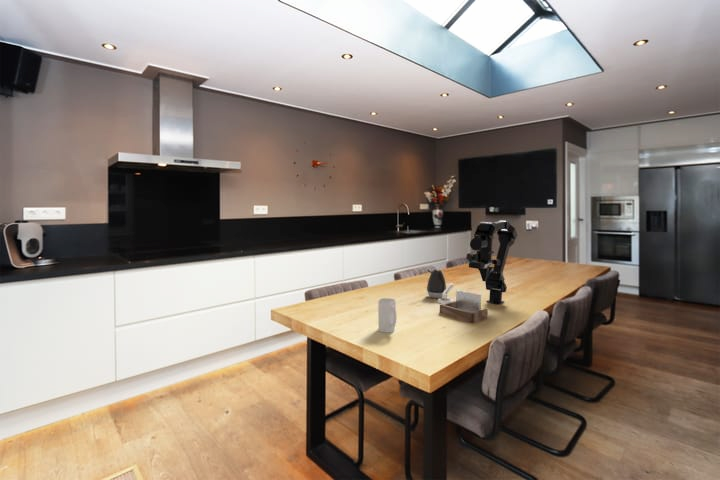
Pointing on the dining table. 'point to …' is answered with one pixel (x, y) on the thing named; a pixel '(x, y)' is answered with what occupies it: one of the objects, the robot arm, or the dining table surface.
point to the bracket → (468, 301)
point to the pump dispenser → (436, 284)
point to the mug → (386, 315)
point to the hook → (445, 295)
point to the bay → (462, 313)
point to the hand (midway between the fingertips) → (484, 281)
